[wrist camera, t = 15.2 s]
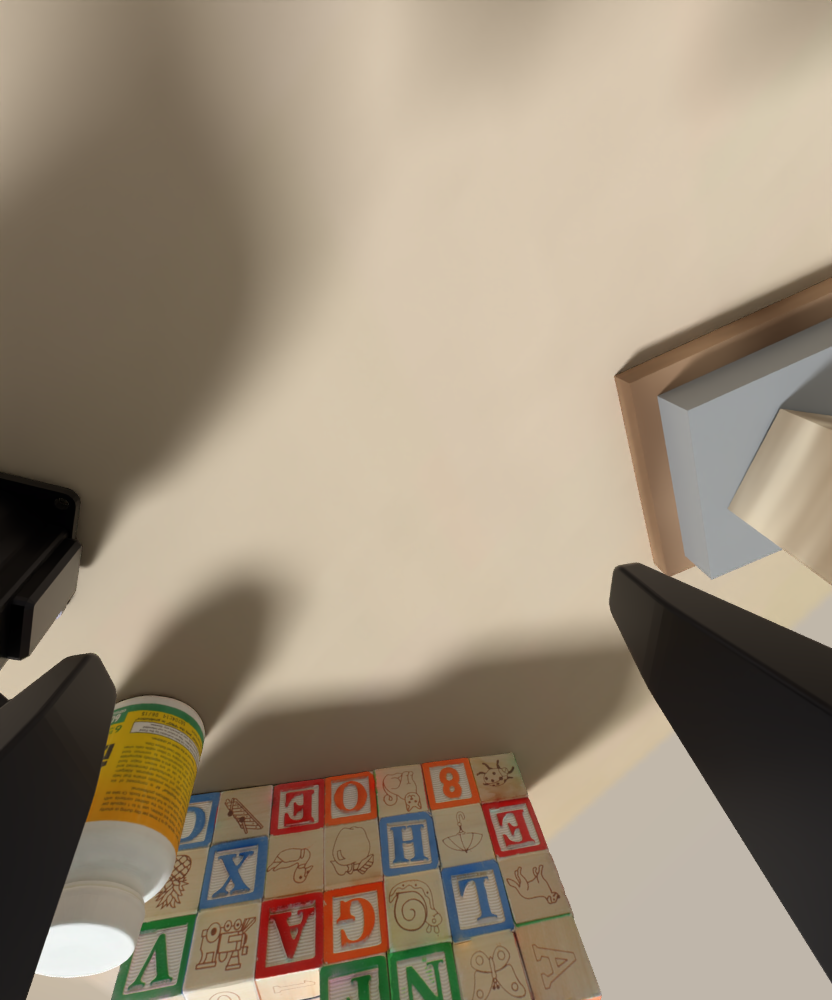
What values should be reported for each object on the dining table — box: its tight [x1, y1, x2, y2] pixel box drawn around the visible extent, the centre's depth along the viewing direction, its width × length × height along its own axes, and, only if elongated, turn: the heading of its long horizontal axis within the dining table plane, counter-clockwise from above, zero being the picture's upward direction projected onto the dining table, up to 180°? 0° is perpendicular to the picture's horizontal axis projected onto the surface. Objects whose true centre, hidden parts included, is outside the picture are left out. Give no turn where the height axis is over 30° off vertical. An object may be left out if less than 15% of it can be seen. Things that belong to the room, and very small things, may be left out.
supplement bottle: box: [35, 696, 205, 978], centre depth 22 cm, size 5×5×10 cm
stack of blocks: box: [111, 753, 602, 1000], centre depth 27 cm, size 21×6×12 cm, turn 89°
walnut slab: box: [614, 277, 832, 576], centre depth 23 cm, size 11×11×2 cm
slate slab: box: [657, 318, 832, 580], centre depth 22 cm, size 9×9×2 cm
